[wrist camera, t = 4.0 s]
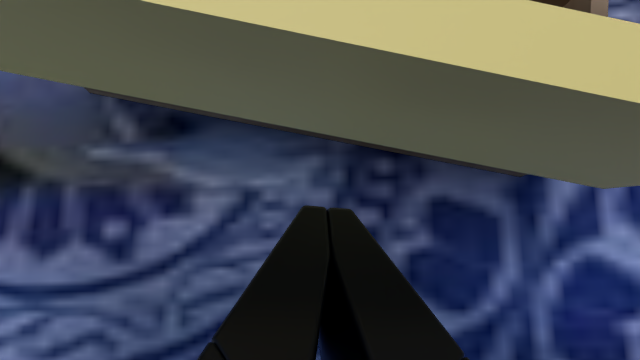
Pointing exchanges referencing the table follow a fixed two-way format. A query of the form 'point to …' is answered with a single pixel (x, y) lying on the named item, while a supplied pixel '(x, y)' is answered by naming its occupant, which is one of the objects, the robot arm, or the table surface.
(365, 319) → the robot arm
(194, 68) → the lid
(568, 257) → the table surface
